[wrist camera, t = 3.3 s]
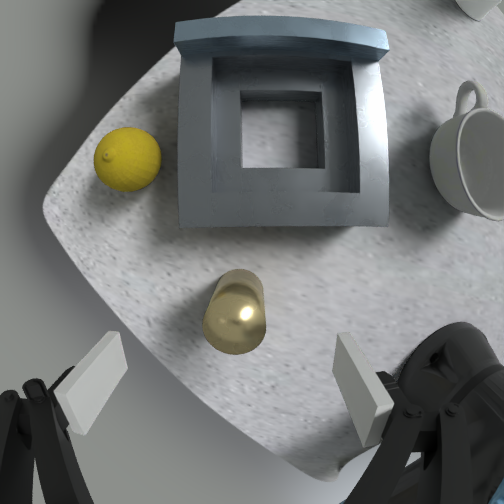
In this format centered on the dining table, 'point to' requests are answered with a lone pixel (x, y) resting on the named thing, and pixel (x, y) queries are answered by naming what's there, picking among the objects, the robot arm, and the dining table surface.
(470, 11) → the cosmetic bottle
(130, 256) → the dining table surface
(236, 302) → the brass cylinder
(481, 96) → the teacup
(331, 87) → the jig
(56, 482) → the robot arm
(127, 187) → the lemon
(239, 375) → the dining table surface
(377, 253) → the dining table surface
